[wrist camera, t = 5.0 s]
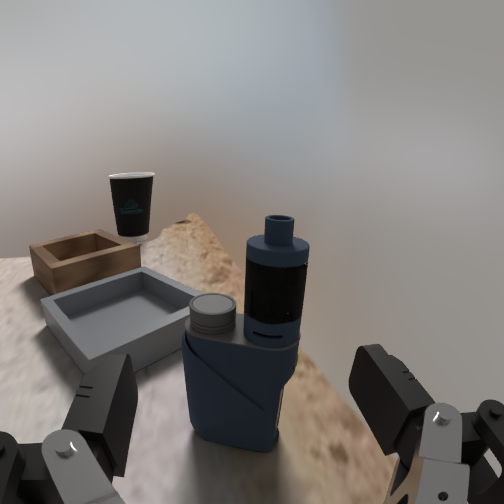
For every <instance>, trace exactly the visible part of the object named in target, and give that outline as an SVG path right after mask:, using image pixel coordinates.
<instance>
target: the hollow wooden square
mask: <svg viewBox="0 0 504 504" xmlns="http://www.w3.org/2000/svg"><path fill="white" fill-rule="evenodd" d="M29 247H30V254H31V260H32V266H33V271H34V275H35V277H36V278H37V279H38V281H39V282H40V283H41V284H42V286H43V287H44V288H45V289H46V291H47V292H48V293H49V294H50V295H51V296H52V295H55V294H58V293H61V292H64V291H67V290H70V289H73V288H77V287H80V286H83V285H86V284H89V283H92V282H95V281H99V280H102V279H105V278H108V277H111V276H115V275H118V274H121V273H124V272H127V271H131V270H134V269H137V268H140V267H141V258H140V245H138V244H136V243H133V242H131V241H128V240H126V239H123V238H120V237H118V236H115V235H113V234H110V233H107V232H105V231H103V230H94V231H89V232H86V233H81V234H76V235H72V236H68V237H63V238H59V239H55V240H51V241H47V242H43V243H39V244H35V245H31V246H29Z"/></svg>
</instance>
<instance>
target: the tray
mask: <svg viewBox="0 0 504 504" xmlns="http://www.w3.org/2000/svg"><path fill="white" fill-rule="evenodd" d="M201 294H205V293H203V292H200V291H198V290H196V289H193V288H191V287H189V286H186V285H184V284H182V283H180V282H177V281H175V280H173V279H171V278H168V277H166V276H164V275H162V274H160V273H157V272H155V271H153V270H151V269H149V268H147V267H140V268H137V269H134V270H131V271H127V272H124V273H121V274H118V275H115V276H111V277H108V278H105V279H102V280H99V281H95V282H92V283H89V284H86V285H83V286H80V287H77V288H73V289H70V290H67V291H64V292H61V293H58V294H55V295H52V296H49V297H46V298H43V299H40V301H41V305H42V309H43V313H44V317H45V320H46V324H47V326H48V327H49V329H50V330H51V332H52V333H53V334H54V336H55V337H56V338H57V340H58V341H59V343H60V344H61V345H62V347H63V348H64V349H65V351H66V352H67V353H68V354H69V356H70V357H71V358H72V360H73V361H74V362H75V363H76V365H77V366H78V367H79V368H80V369H81V371H82V372H83V373H84V374H86V373H87V372H88V371H89V370H90V369H91V368H92V367H93V366H102V364H103V362H104V359H105V357H106V355H107V353H122V354H129V355H130V357H131V361H132V366H133V371H134V373H135V372H136V371H138V370H140V369H142V368H144V367H146V366H148V365H150V364H152V363H154V362H156V361H158V360H160V359H161V358H163V357H165V356H167V355H169V354H171V353H173V352H175V351H177V350H178V349H180V348H182V334H183V331H184V330H185V322H186V320H187V319H188V318H189V317H190V310H189V302H190V300H191V299H192V298H194V297H195V296H198V295H201Z"/></svg>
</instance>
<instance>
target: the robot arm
mask: <svg viewBox="0 0 504 504" xmlns="http://www.w3.org/2000/svg"><path fill="white" fill-rule="evenodd" d="M349 389H350V393H351V395H352V396H353V398H354V400H355V401H356V404H357V405H358V407H359V409H360V411H361V412H362V414H363V416H364V418H365V420H366V422H367V423H368V425H369V427H370V429H371V431H372V433H373V434H374V436H375V438H376V440H377V442H378V444H379V445H380V447H381V449H382V451H383V453H384V455H385V456H386V455H389V454H392V453H396V452H397V453H398V455H399V457H398V459H397V461H396V464H395V468H394V471H393V475H392V478H391V482H390V485H389V488H388V491H387V495H386V498H385V500H384V503H383V504H467V502H468V503H469V504H504V405H503V404H502V403H500V402H498V401H496V400H485V401H483V402H482V403H481V404H480V406H479V408H478V409H477V411H476V412H469V413H459V411H458V410H457V409H456V408H454V407H453V406H451V405H448V404H445V403H435V402H434V400H433V399H432V398H431V396H430V395H429V394H428V393H427V391H426V390H425V389H424V388H423V387H422V385H421V384H420V383H419V382H418V380H417V379H415V377H414V375H413V374H412V373H411V372H409V369H408V368H407V367H406V366H405V365H404V363H403V362H402V361H400V360H399V359H397V358H396V357H394V356H392V355H388V354H387V352H386V351H385V350H384V349H383V347H382V346H381V345H380V344H372V345H365V346H360V347H358V349H357V351H356V355H355V359H354V362H353V366H352V370H351V373H350V377H349ZM137 403H138V389H137V384H136V380H135V375H134V371H133V366H132V361H131V357H130V355H129V354H122V353H107V355H106V357H105V359H104V362H103V364H102V366H93V367H92V368H91V369H90V370H89V371H88V372H87V373H86V374H85V375H84V376H83V379H82V381H81V383H80V388H78V390H77V392H76V396H75V397H74V400H73V402H72V404H71V407H70V409H69V412H68V414H67V417H66V419H65V422H64V424H63V427H62V429H61V430H57V431H55V432H52V433H51V434H49V435H48V436H47V437H46V438H45V439H44V441H43V443H31V444H18V443H17V442H16V440H15V439H14V437H13V436H12V435H10V434H9V433H6V432H2V431H0V504H125V502H124V501H123V500H122V498H121V497H120V495H119V494H118V493H117V492H116V490H115V489H114V487H113V486H112V481H113V476H118V477H124V474H125V468H126V462H127V456H128V450H129V444H130V439H131V433H132V428H133V423H134V418H135V413H136V408H137ZM489 448H490V450H491V451H492V453H493V454H494V455H495V457H496V458H497V460H498V461H499V463H500V464H501V467H502V473H501V476H500V477H499V478H498V477H497V475H496V474H495V472H494V470H493V469H492V467H491V466H490V465H489V463H488V461H487V460H486V458H485V457H484V454H485V453H486V451H487V450H488V449H489Z"/></svg>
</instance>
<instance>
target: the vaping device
mask: <svg viewBox="0 0 504 504" xmlns="http://www.w3.org/2000/svg"><path fill="white" fill-rule="evenodd" d="M293 229H294V218H292V217H288V216H282V215H269V216H266V218H265V234H264V235H258V236H254V237H251V238H249V239H248V240H247V248H246V249H247V250H246V274H245V300H244V314H238V313H236V301H235V300H234V299H233V298H231V297H230V296H227V295H224V294H219V293H207V294H201V295H198V296H195V297H194V298H192V299H191V300H190V302H189V310H190V317H189V318H188V319H187V320H186V322H185V330H184V331H183V334H182V352H183V363H184V373H185V382H186V391H187V399H188V407H189V415H190V422H191V424H192V426H193V428H194V429H195V430H196V432H197V434H198V435H199V436H200V437H201V438H203V439H205V440H209V441H213V442H217V443H221V444H225V445H230V446H234V447H239V448H244V449H249V450H254V451H259V452H269V451H272V448H273V447H274V446H275V445H276V443H277V441H278V437H279V430H278V427H277V426H278V423H279V416H280V410H281V403H282V397H283V390H284V385H285V384H286V383H287V382H288V380H289V379H290V378H291V377H292V375H293V373H294V371H295V367H296V366H297V360H298V346H299V340H300V324H301V316H302V309H303V301H304V292H305V284H306V275H307V266H308V265H307V264H308V263H306V262H308V257H309V244H308V243H307V242H306V241H304V240H302V239H300V238H296V237H293ZM305 263H306V264H305ZM290 269H291V270H290ZM287 313H288V314H287Z"/></svg>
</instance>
